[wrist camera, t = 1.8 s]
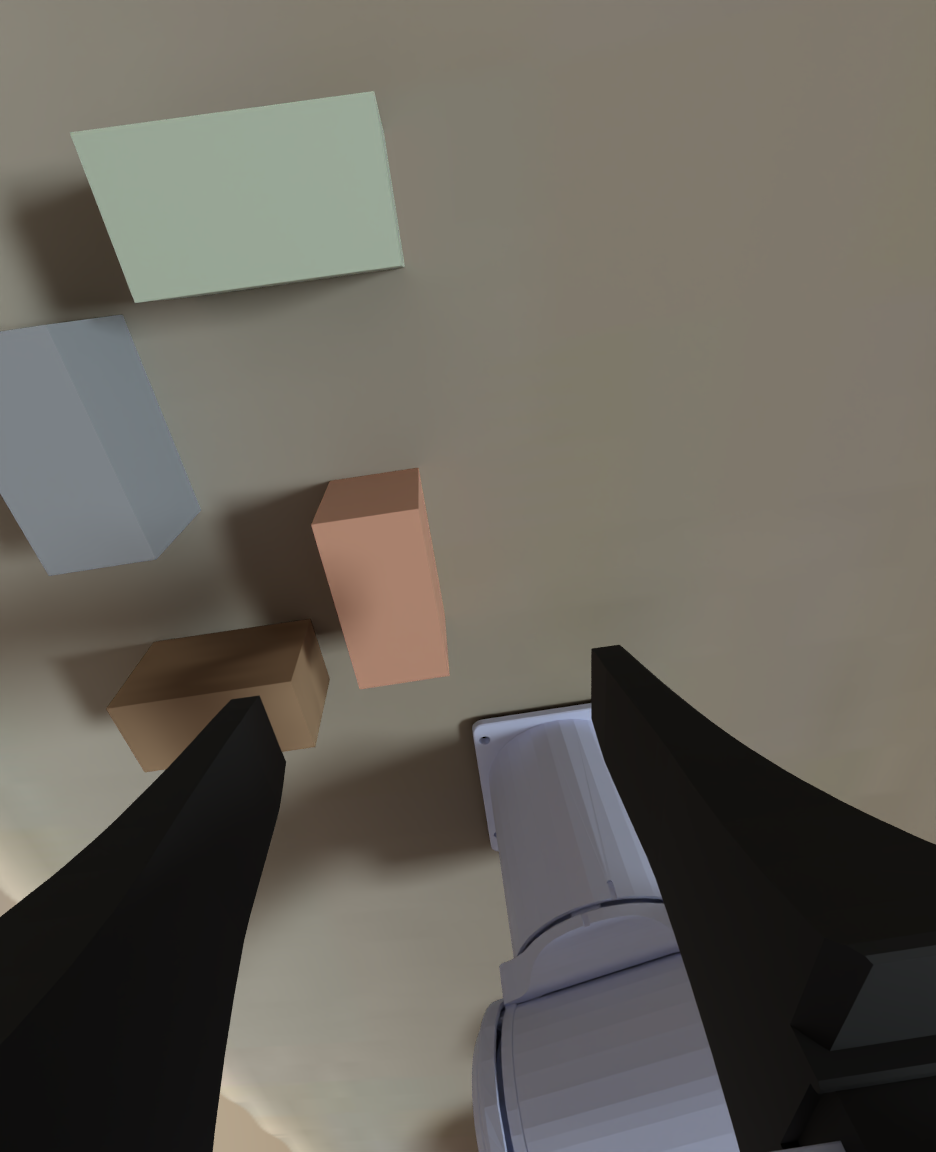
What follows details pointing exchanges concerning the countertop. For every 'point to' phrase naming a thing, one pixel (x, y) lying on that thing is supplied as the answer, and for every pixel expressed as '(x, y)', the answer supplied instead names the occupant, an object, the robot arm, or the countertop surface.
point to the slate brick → (87, 448)
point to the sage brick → (246, 197)
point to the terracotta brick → (383, 577)
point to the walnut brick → (222, 688)
